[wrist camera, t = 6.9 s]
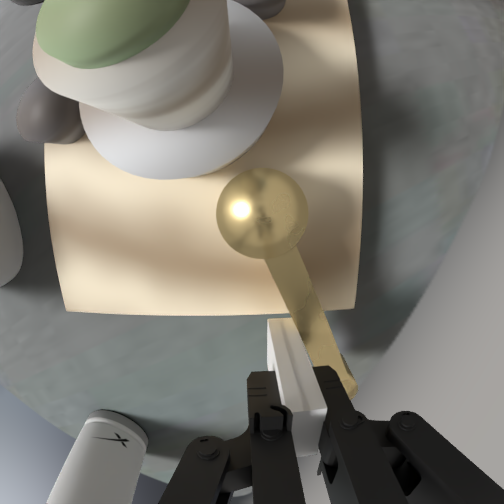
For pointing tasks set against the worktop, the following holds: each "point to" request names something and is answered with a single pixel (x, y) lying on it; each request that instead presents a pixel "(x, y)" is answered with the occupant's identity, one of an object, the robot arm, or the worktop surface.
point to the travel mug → (102, 462)
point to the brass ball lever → (280, 253)
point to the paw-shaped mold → (9, 239)
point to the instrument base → (193, 147)
